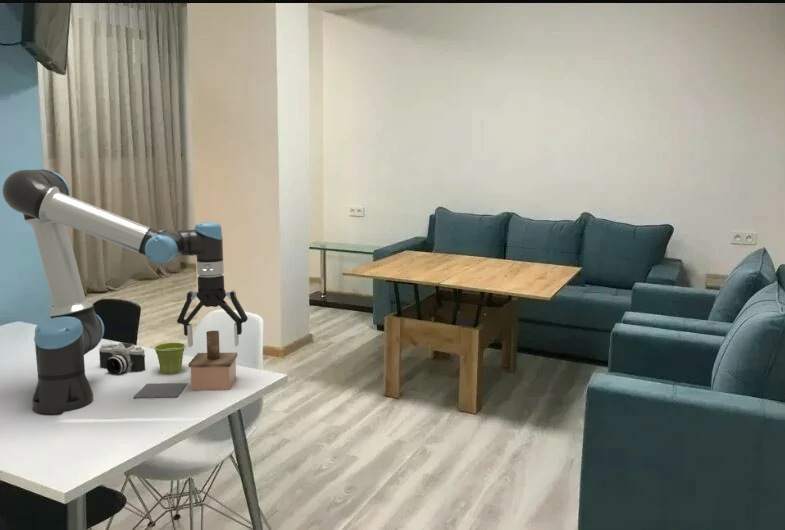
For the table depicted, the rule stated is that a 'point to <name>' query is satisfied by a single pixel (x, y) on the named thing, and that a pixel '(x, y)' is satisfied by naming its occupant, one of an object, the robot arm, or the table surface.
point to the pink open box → (213, 377)
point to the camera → (122, 358)
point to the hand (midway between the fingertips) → (213, 345)
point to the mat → (161, 390)
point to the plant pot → (170, 357)
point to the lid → (213, 354)
